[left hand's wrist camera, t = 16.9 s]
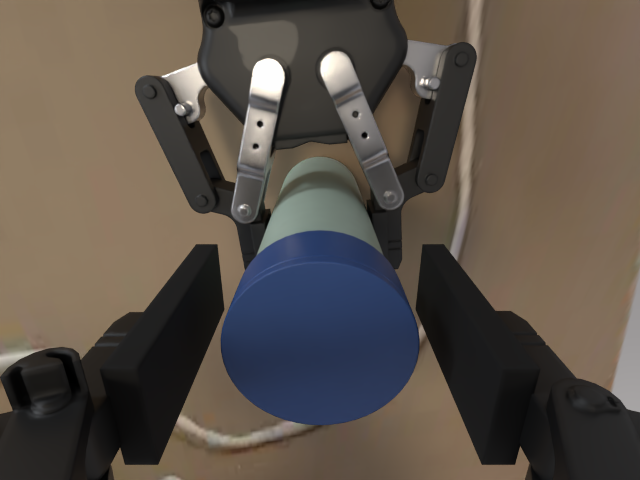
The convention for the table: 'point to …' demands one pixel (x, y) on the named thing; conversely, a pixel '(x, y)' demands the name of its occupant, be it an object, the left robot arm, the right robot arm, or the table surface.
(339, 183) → the green bottle
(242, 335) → the lid
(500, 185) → the table surface
